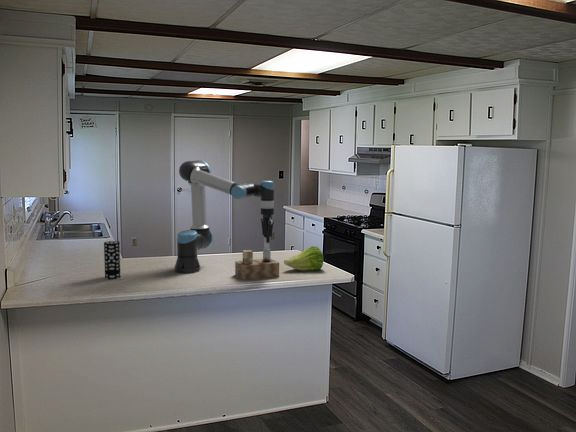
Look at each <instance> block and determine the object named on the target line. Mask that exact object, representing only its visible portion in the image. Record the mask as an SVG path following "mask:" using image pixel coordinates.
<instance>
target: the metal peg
mask: <svg viewBox="0 0 576 432" xmlns="http://www.w3.org/2000/svg"><path fill="white" fill-rule="evenodd" d="M271 256H272V255H271V248H263V249H262V259H263V262H270V259H272V258H271Z"/></svg>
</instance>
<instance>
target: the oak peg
mask: <svg viewBox="0 0 576 432" xmlns="http://www.w3.org/2000/svg"><path fill="white" fill-rule="evenodd" d="M253 260H254V251H253V250H250V249H248V250H247V249H244V250H242V261H243V263H244V264H253Z"/></svg>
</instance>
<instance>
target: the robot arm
mask: <svg viewBox="0 0 576 432" xmlns="http://www.w3.org/2000/svg"><path fill="white" fill-rule="evenodd" d="M211 171H212V170H211V167H210V165H209V164H208V163H207V162H206V161H203V160H200V159H199V160H188V161H183V162H182V163H181V165H180V166H179V168H178V173H179V176H180V178H182V180H184V181H186V182H187V183H188V185H189V186H190V192H191V215H192V216H191V217H192V218H191V219H192V225H191V226H190V227H189V229H186V230H181V231H179V232H178V233H177V236H176V242H177V243H176V244H177V245H176V246H177V247H176V248H177V252H176V254H177V255H176V256H177V257H176V261H175V265H174V272H176V273H181V274H191V273H192V274H193V273H197V272H199V271H201V264H200V262H199V259H198V251H199V250H204V249H207V248H208V247H210V246H211V245H212V243H213V241H214V234H213V232H212V230H211V229H210V226H209V225H208V223H207V221H208V220H207V202H206V201H207V198H206V193H207V192H206V187H208V188H211V189H212V190H213V189H214V190H216V191H219V192H222V193H225V194H227V195H230V196H231V197H232V198H233V199H235V200H242V199H246V198H253V197H255V198H260V215H262V217H261V218H260V223H261V231H262V236H263V238H264V243H263V245H264V247H263V249H271V248H270V245H271V243H270V238H271V237H272V236H273V228H274V225H275V223H274V222H275V221H274V220H273V219H272V216H273V215H274V213H275V210H274V209H275V208H274V207H275V205H274V204H275V182H274V181H273V180H261V182H260V183H250V182H248V183H243V184H241V183H238V182H235V181H233V180H229V179H227V178H224V177H222V176H218V175H215V174H213V173H211Z"/></svg>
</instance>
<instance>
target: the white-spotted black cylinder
mask: <svg viewBox="0 0 576 432" xmlns="http://www.w3.org/2000/svg"><path fill="white" fill-rule="evenodd" d="M120 243H121V242H120V241H119V240H109V241H104V242H103V251H104V252H103V255H104V256H103V257H104V259H103V260H104V261H103V262H104V279H106V280H118V279H120V278H122V277H121V247H120V246H121V245H120Z"/></svg>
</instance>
